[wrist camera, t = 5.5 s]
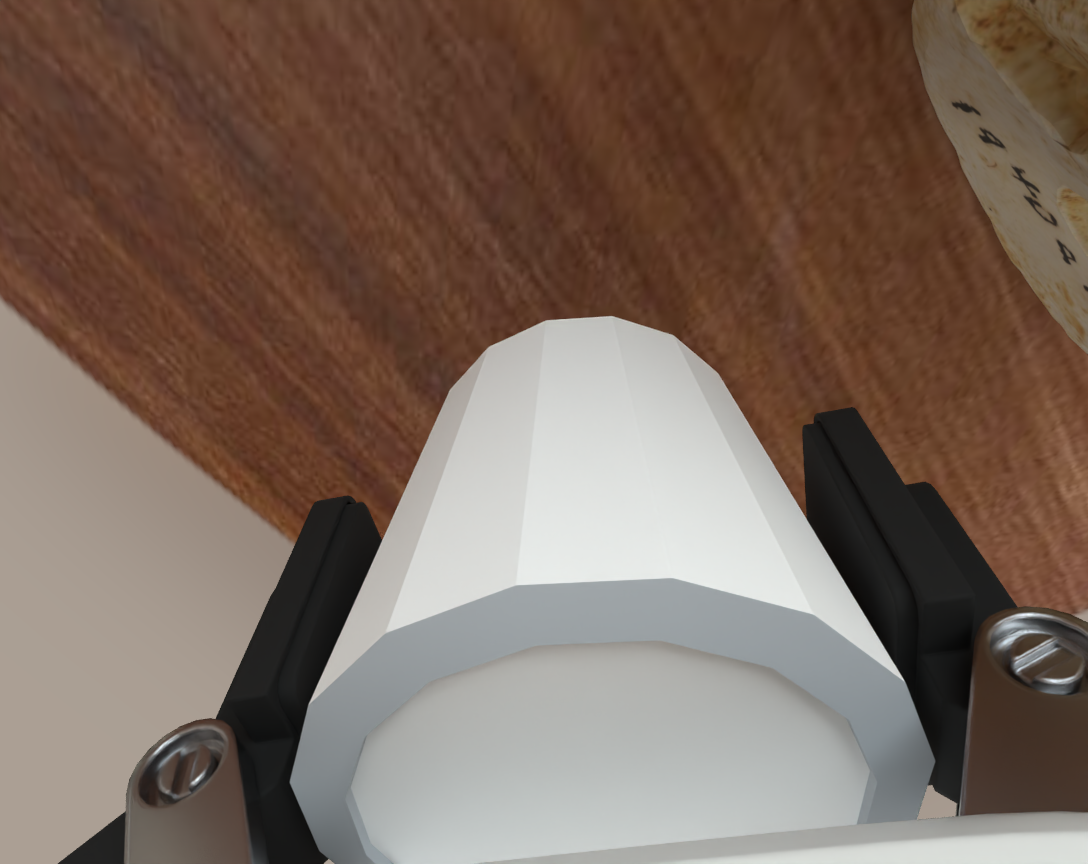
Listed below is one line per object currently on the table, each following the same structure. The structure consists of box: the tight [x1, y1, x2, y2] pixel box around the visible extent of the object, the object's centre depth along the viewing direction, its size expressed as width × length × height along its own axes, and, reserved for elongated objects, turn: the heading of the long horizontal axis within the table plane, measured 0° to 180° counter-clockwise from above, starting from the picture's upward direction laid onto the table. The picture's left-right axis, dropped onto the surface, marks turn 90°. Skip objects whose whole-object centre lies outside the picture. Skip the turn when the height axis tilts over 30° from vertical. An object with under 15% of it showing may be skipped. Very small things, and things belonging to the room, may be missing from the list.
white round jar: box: [290, 316, 935, 864], centre depth 11 cm, size 7×7×7 cm
